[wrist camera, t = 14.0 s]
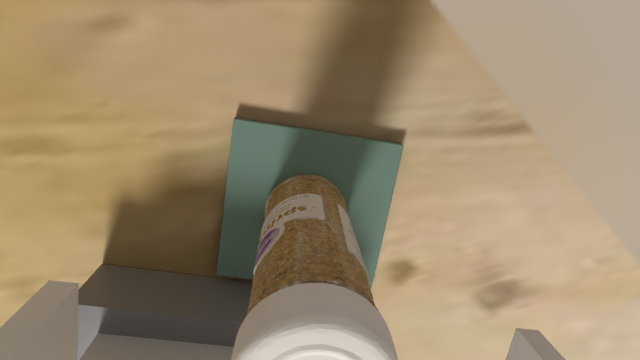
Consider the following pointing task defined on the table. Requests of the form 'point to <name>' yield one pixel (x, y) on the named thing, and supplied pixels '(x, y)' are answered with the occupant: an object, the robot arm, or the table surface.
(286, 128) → the mat
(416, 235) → the table surface
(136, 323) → the grey square holder
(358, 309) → the sprinkles bottle
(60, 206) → the table surface
